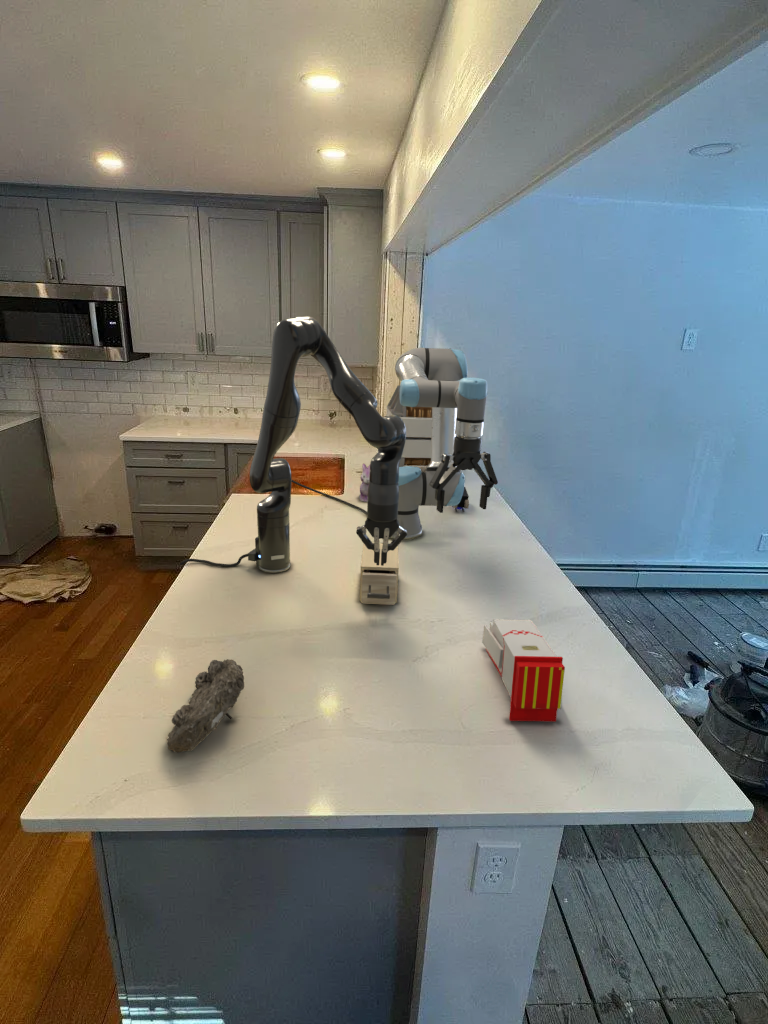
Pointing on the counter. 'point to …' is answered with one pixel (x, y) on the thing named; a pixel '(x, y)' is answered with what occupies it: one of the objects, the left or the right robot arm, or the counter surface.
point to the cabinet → (369, 564)
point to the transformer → (413, 431)
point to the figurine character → (463, 502)
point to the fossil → (206, 705)
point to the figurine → (364, 483)
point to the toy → (526, 669)
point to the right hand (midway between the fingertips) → (461, 509)
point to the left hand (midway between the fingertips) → (380, 564)
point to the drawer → (378, 587)
